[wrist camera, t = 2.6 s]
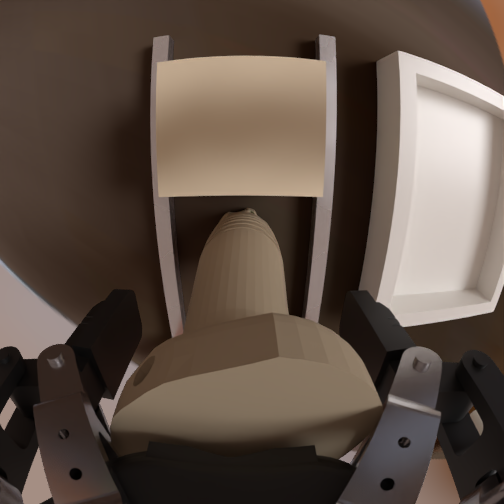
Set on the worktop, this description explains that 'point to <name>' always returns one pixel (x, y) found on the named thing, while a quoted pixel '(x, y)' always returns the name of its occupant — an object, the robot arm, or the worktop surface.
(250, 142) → the block
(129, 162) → the worktop surface
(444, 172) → the tray
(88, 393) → the robot arm
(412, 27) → the worktop surface
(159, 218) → the track
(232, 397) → the handle
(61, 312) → the worktop surface
